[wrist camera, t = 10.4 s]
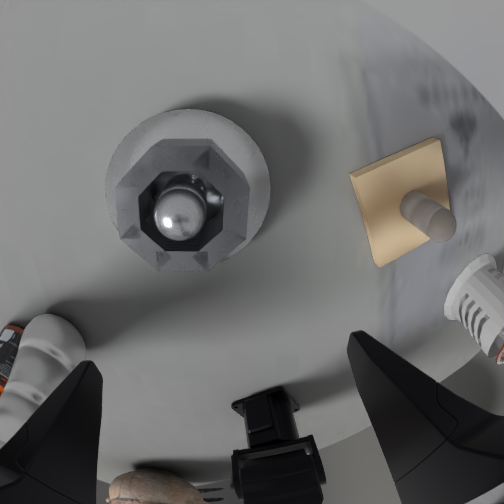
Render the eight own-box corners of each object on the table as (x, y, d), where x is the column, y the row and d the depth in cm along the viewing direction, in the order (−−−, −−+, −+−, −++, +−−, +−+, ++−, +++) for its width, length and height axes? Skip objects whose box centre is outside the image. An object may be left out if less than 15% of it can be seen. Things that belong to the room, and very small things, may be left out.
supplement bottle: (1, 313, 20) (-44, 395, 10) (45, 336, 22) (8, 428, 12) (7, 346, 22) (-27, 421, 13) (47, 367, 24) (20, 448, 15)
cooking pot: (190, 455, 38) (194, 518, 27) (228, 478, 47) (233, 525, 37) (83, 454, 38) (76, 504, 28) (133, 481, 48) (132, 522, 37)
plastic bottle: (68, 298, 20) (-8, 524, 3) (104, 352, 24) (71, 551, 6) (23, 308, 20) (-51, 489, 3) (58, 356, 24) (15, 525, 6)
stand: (444, 221, 21) (485, 253, 16) (373, 261, 22) (409, 303, 17) (431, 137, 17) (484, 155, 12) (349, 173, 18) (393, 202, 13)
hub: (289, 216, 19) (317, 260, 14) (165, 278, 20) (154, 334, 15) (222, 80, 14) (226, 67, 9) (86, 164, 16) (41, 191, 11)
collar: (238, 245, 18) (243, 271, 16) (136, 244, 17) (124, 270, 15) (246, 139, 15) (253, 147, 12) (129, 140, 14) (112, 148, 12)
